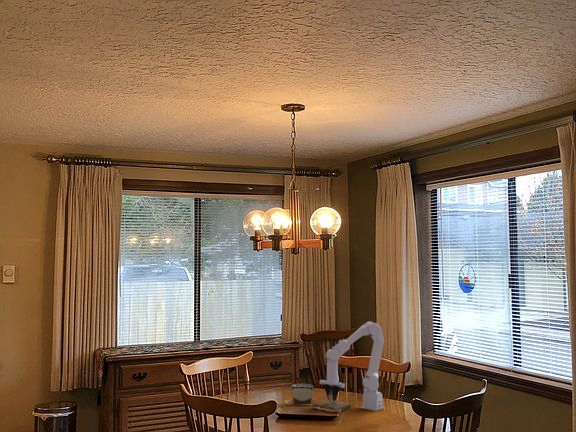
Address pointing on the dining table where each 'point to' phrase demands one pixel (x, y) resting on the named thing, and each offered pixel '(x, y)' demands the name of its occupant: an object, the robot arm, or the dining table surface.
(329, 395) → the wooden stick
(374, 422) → the dining table surface
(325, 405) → the holder block
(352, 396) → the dining table surface
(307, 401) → the food container
